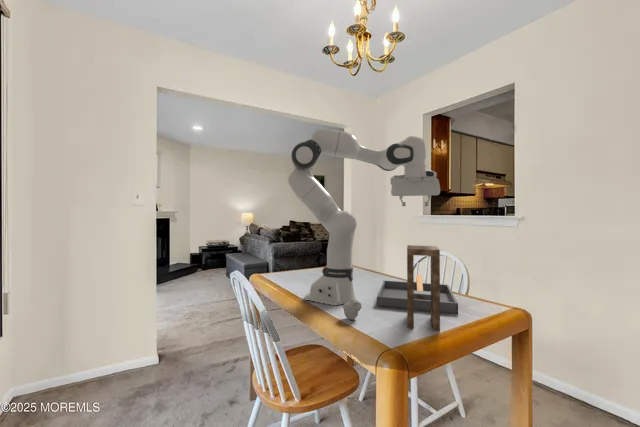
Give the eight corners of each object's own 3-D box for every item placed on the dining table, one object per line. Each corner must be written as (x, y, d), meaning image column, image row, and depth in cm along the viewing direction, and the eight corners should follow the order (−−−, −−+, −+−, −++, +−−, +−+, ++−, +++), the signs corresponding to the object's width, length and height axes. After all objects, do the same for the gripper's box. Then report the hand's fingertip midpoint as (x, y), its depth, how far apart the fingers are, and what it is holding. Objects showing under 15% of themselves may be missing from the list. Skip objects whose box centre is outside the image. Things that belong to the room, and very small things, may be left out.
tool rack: (407, 327, 94) (407, 248, 94) (407, 315, 106) (407, 245, 106) (440, 331, 91) (439, 249, 91) (436, 318, 103) (436, 246, 103)
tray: (377, 306, 116) (377, 296, 116) (383, 288, 144) (383, 280, 144) (458, 314, 107) (458, 303, 107) (448, 293, 135) (448, 284, 135)
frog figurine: (362, 322, 98) (362, 302, 98) (342, 321, 99) (342, 301, 99) (361, 316, 104) (361, 297, 105) (342, 315, 105) (342, 296, 105)
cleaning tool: (409, 299, 123) (409, 293, 123) (409, 279, 144) (409, 273, 143) (431, 301, 120) (431, 294, 120) (428, 280, 141) (428, 274, 141)
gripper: (389, 174, 124) (390, 206, 124) (440, 172, 118) (440, 205, 118) (390, 176, 130) (391, 206, 130) (439, 174, 124) (439, 206, 124)
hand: (415, 206), depth 124 cm, fingers open, 8 cm apart
